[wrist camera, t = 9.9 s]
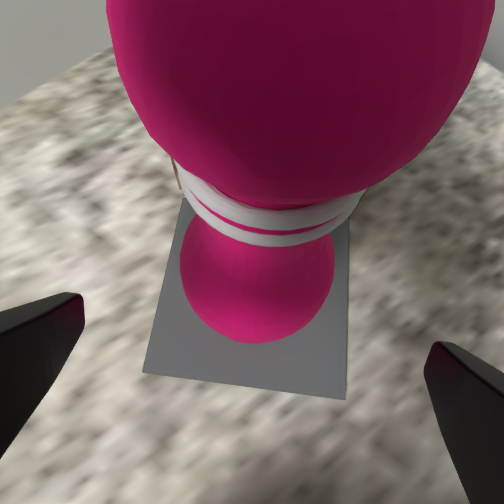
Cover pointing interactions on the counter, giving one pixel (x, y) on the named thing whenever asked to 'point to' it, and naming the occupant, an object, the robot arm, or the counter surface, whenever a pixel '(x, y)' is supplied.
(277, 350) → the rubber mat
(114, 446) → the counter surface
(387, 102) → the pepper mill
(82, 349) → the counter surface
